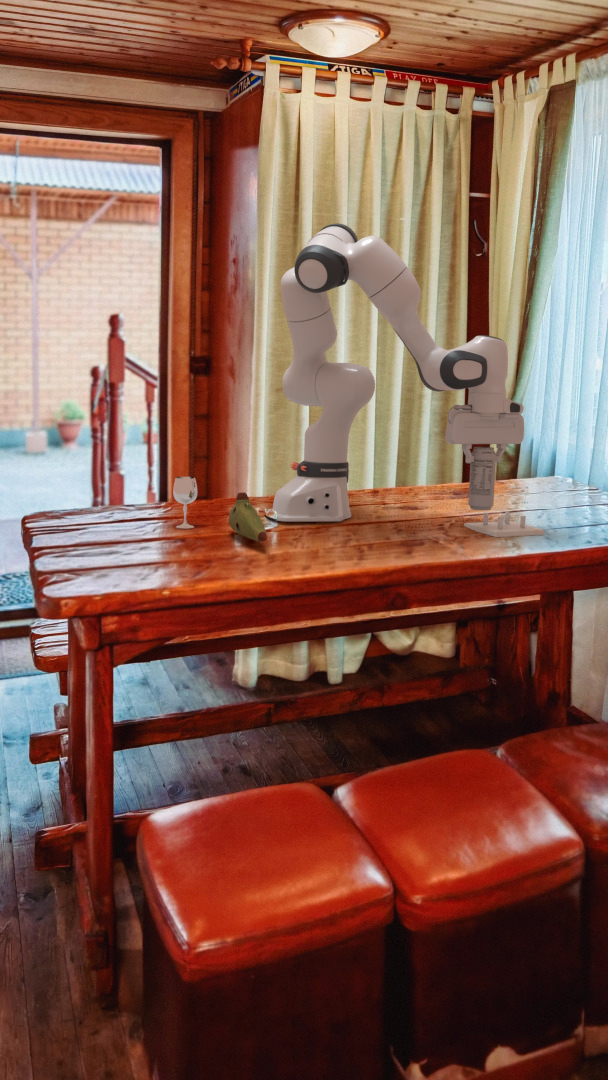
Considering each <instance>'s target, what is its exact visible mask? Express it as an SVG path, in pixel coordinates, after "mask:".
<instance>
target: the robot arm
mask: <svg viewBox="0 0 608 1080" xmlns="http://www.w3.org/2000/svg"><path fill="white" fill-rule="evenodd" d="M348 280H349V281H352V282H355V283H356V284H357V285H358V286H359V287H360V289H361V290H362V292H364V294H365V295H366V296H367V298H368V299H369V301H370V302H371V303H372V304H373V305H374V307H375V308H376V309H377V310H378V311H379V312H380V314H381V315H382V316H383V317H384V318H385V319H386V321H387V322H388V323H389V325H390V326H391V327H392V329H393V330H394V332H395V333H396V335H397V337H399V339H400V340H401V342H402V344H403V345H404V346H405V347H406V349H407V351H408V352H409V354H410V356H411V357H412V358H413V360H414V361H415V362H414V363H415V365H416V368H417V373H418V376H419V379H420V381H421V382H422V384H423V385H424V387H426V388H427V389H428V390H431V391H433V392H439V393H440V392H445V391H446V392H447V391H450V392H451V391H461V390H464V389H468V395H467V396H468V400H467V404H462V405H460V404H454V405H453V406H452V407H450V408H449V409H448V412H447V423H446V429H445V435H444V436H445V437H444V439H445V441H446V442H447V444H450V445H461V449H462V451H463V453H464V456H465V463H466V464H470V463H474V462H475V460H474V459H475V456H472V454H471V453H472V451H471V450H472V447H473V445H495V446H496V447H495V448H496V449H497V450H496V451H495V453H496V464H498V463H499V464H500V463H501V462H502V456H503V454H504V453H505V452H506V449H507V445H520V444H522V442H524V437H525V420H524V416H523V415H522V414H523V413H524V410H525V409H524V408H525V407H524V405H523V404H521V403H519V402H517V401H514V400H512V399H509V398H507V388H506V381H507V377H508V371H509V352H508V351H509V350H508V346H507V344H506V342H505V341H504V339H501V338H500V337H496V336H492V335H483V334H481V335H479V334H478V335H476V336H475V337H473V338H472V339H471V340H470V341H468V342H466V343H464V344H462V345H460V346H457V347H454V348H451V349H445V348H443V347H441V346H439V345H438V344H437V343H436V341H435V340H434V339H433V338H432V336H431V334H430V333H429V331H428V330H427V329H426V326H425V325H424V324H423V322H422V321H421V319H420V317H419V312H418V307H419V304H420V303H421V302H420V301H421V297H422V290H421V287H420V285H419V282H418V281H417V279H416V277H415V276H414V274H413V273H412V271H411V270H410V268H409V267H408V266H407V264H406V263H405V262H404V260H402V258H401V257H400V256H399V254H398V253H397V252H396V251H395V250H394V249H393V248H392V247H391V246H390V245H389V244H388V243H386V242H385V240H383V239H382V238H380V236H377V235H368V236H365V237H363V238H360V239H358V237H357V234H356V232H355V231H354V230H353V229H352V228H350V227H349V226H348V225H346V224H343V223H338V222H337V223H331V224H327V225H325V226H324V227H323V228H321V229H320V230H319V231H318V232H317V233H315V234H314V235H313V236H312V237H311V238H310V239H309V240H308V241H307V243H306V245H305V246H304V247H303V248H302V250H301V251H299V253H298V255H297V257H296V260H295V263H294V266H293V267H291V268H289V269H288V270H287V271H286V272H285V273H284V274H283V275H282V276H281V279H280V294H281V302H282V305H283V306H282V308H283V311H284V315H285V319H286V323H287V325H288V330H289V335H290V338H291V343H292V349H293V351H292V352H293V353H292V355H293V356H292V361H291V364H290V365H289V367H288V368H287V369H286V370H285V372H284V374H283V377H282V381H281V382H282V383H281V387H282V391H283V394H284V396H285V397H286V399H287V400H288V401H290V402H292V403H294V404H295V403H296V404H299V405H301V406H306V407H322V411H321V414H320V415H319V418H318V419H317V421H315V422H313V423H311V424H310V425H309V426H308V427H307V428H306V430H305V431H304V443H303V444H304V447H303V450H304V452H303V459H304V460H302V461H301V462H300V463H298V462H295V461H293V462H291V464H290V469H291V470H292V471H296V476H294V477H293V478H291V480H290V481H288V482H287V483H286V484H284V485H283V486H282V487H281V488H279V489H277V491H276V492H275V494H274V499H273V504H272V510H274V511H276V512H277V520H276V521H279V522H341V521H344V520H347V519H350V518H351V517H352V512H351V508H350V502H349V493H348V483H349V475H350V474H349V473H350V470H349V469H350V468H349V466H350V464H349V462H348V450H349V448H348V447H349V437H350V432H351V427H352V424H353V422H354V420H355V418H356V416H357V415H358V413H359V411H360V410H362V408H363V407H365V406H366V405H367V404H368V403H369V402H370V401H371V400H372V398H373V396H374V394H375V391H376V390H375V389H376V380H375V377H374V375H373V373H372V371H371V370H370V369H369V367H366V366H364V365H360V364H356V363H351V362H330V361H328V360H327V357H326V356H327V355H326V352H327V351H328V350H330V349H331V348H332V347H333V346H334V345H335V343H336V340H337V336H338V330H337V327H336V322H335V319H334V315H333V311H332V307H331V304H330V300H329V295H328V291H329V290H332V289H335V288H338V287H341V286H344V285H346V284H347V282H348ZM470 449H471V450H470Z"/></svg>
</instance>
